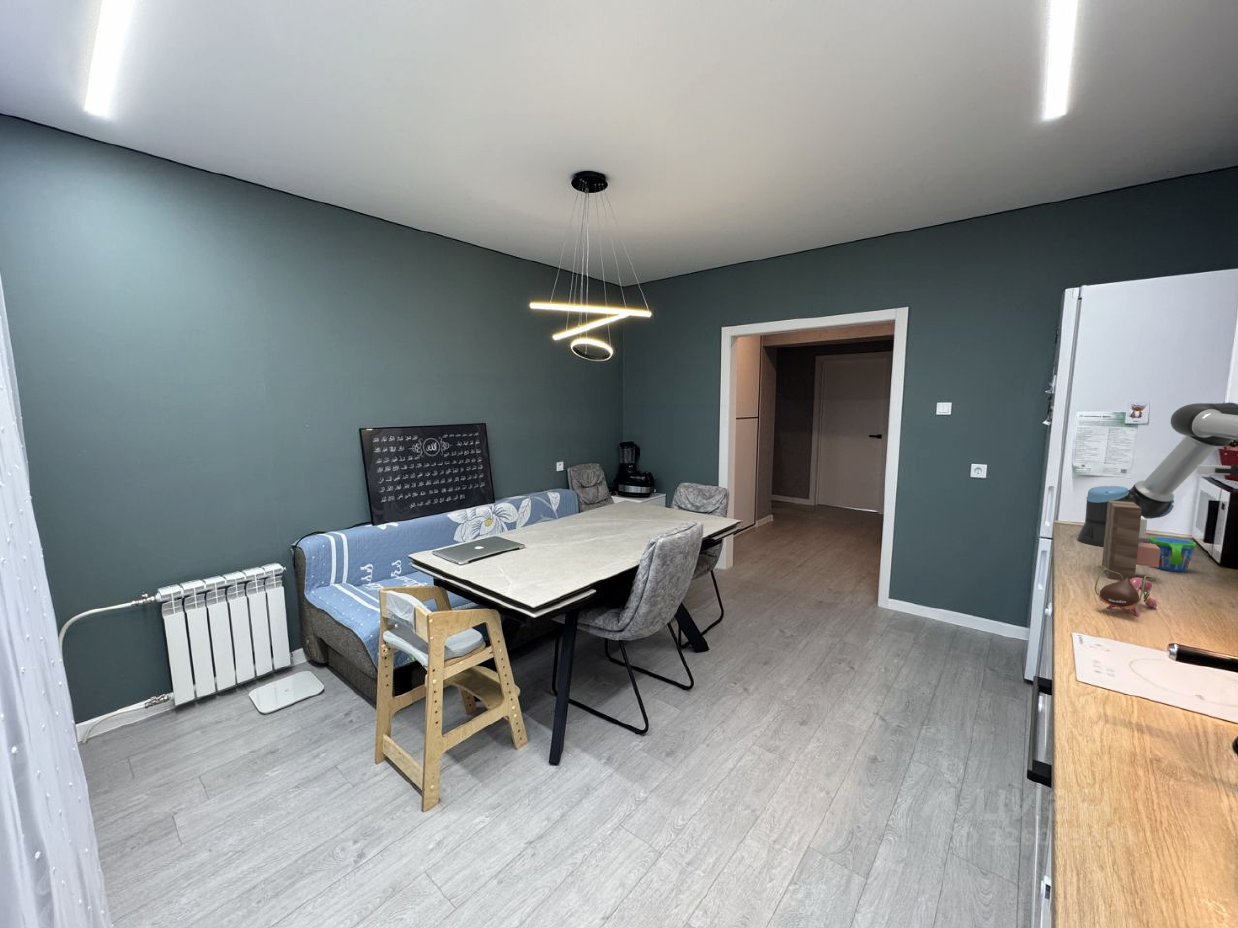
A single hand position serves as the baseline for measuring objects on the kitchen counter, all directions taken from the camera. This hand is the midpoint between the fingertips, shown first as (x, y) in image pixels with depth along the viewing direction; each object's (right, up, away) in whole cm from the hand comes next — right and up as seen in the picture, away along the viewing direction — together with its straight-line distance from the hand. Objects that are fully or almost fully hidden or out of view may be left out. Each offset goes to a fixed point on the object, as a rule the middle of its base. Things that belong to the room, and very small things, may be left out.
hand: (1197, 469), depth 154 cm
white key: (-14, -22, +6) cm, 27 cm away
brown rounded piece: (-42, -39, -19) cm, 60 cm away
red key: (-11, -31, +5) cm, 33 cm away
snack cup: (+7, -35, +14) cm, 38 cm away
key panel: (-16, -35, +9) cm, 40 cm away
